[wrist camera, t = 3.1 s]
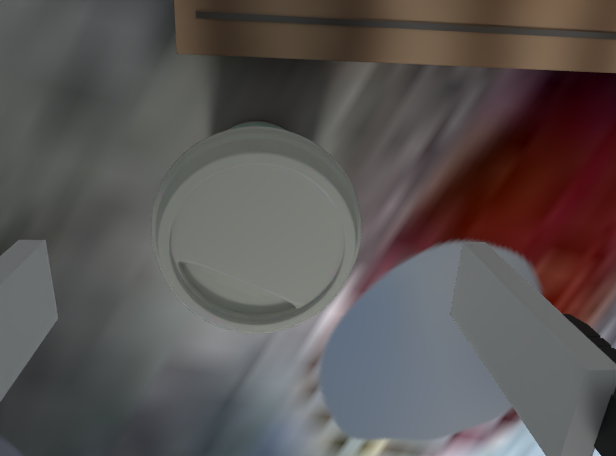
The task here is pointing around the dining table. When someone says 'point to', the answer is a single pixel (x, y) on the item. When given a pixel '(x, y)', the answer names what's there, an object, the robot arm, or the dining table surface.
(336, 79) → the dining table surface
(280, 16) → the board
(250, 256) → the coffee cup
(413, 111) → the dining table surface
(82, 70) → the dining table surface
